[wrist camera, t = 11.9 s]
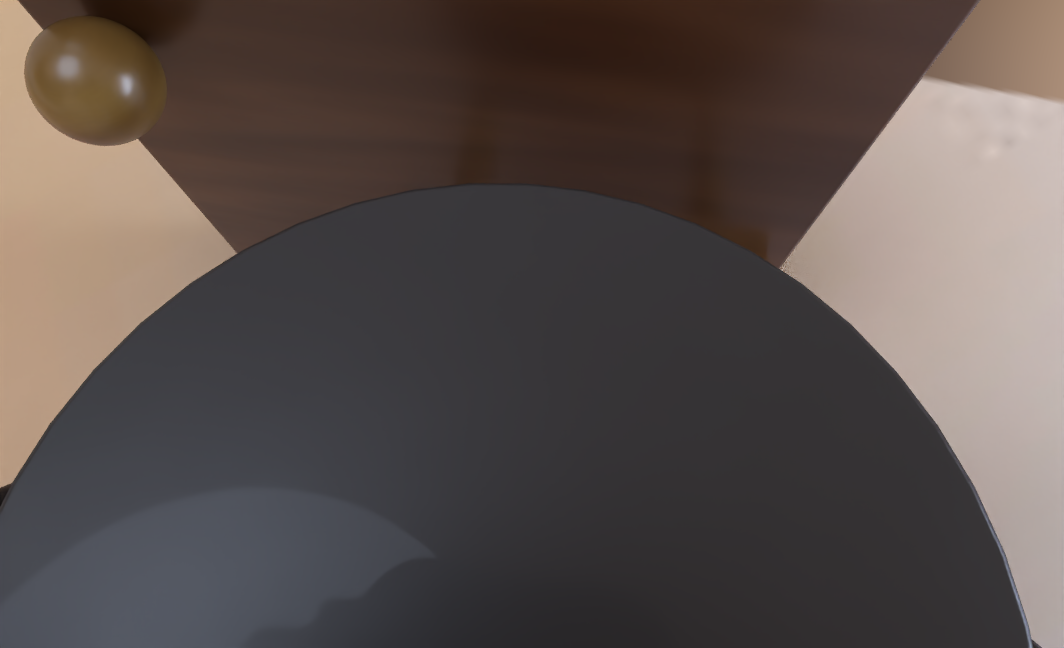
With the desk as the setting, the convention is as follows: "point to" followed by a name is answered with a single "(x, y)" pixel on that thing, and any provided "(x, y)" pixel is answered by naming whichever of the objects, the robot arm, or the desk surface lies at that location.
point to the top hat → (498, 452)
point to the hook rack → (491, 99)
